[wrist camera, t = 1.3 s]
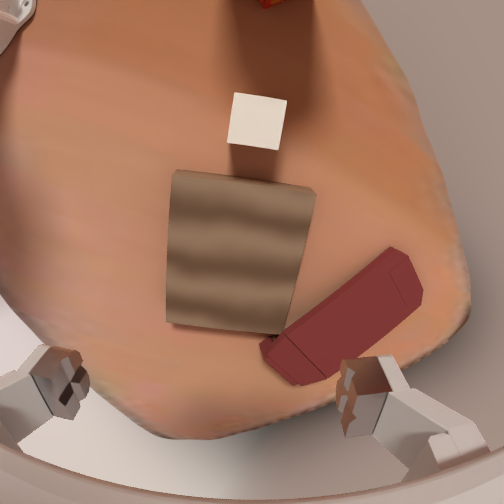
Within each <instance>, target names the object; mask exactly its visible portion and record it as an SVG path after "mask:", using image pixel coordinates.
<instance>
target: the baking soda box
mask: <svg viewBox="0 0 504 504" xmlns="http://www.w3.org/2000/svg"><path fill="white" fill-rule="evenodd" d="M283 1H285V0H258V2H259V3H260V4H261V6H262V7H263V9H266V8H268V7H271V6H273V5H276V4H278V3H280V2H283Z"/></svg>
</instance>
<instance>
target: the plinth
mask: <svg viewBox="0 0 504 504" xmlns="http://www.w3.org/2000/svg"><path fill="white" fill-rule="evenodd" d="M315 200H316V193H315V192H314V191H313V190H312V189H311V188H308V187H303V186H297V185H291V184H284V183H278V182H271V181H265V180H258V179H251V178H244V177H236V176H228V175H221V174H212V173H204V172H195V171H186V170H176V172H175V173H174V174H173V175H172V183H171V196H170V210H169V227H168V247H167V277H166V322H169V323H176V324H183V325H191V326H199V327H207V328H216V329H225V330H235V331H245V332H255V333H267V334H279V335H280V334H281V333H282V332H283V328H284V325H285V321H286V317H287V313H288V310H289V306H290V302H291V298H292V295H293V291H294V287H295V283H296V279H297V275H298V271H299V267H300V263H301V259H302V255H303V251H304V247H305V243H306V239H307V234H308V230H309V226H310V222H311V217H312V213H313V208H314V204H315Z"/></svg>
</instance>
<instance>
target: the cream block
mask: <svg viewBox="0 0 504 504" xmlns="http://www.w3.org/2000/svg"><path fill="white" fill-rule="evenodd" d="M286 105H287V101H286V100H281V99H275V98H269V97H263V96H257V95H250V94H243V93H234V99H233V105H232V112H231V118H230V125H229V132H228V138H227V143H233V144H240V145H248V146H255V147H261V148H268V149H274V150H279V145H280V139H281V133H282V128H283V122H284V116H285V110H286Z"/></svg>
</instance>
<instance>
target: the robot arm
mask: <svg viewBox="0 0 504 504" xmlns="http://www.w3.org/2000/svg"><path fill="white" fill-rule="evenodd" d="M28 3H29V4H28ZM27 4H28V5H27ZM35 8H36V0H0V54H1V53H2V52H3V51H4V50H5V48H6V47H7V46H8V44H9V43H10V41H11V40H12V38H13V37H14V35H15V33H16V32H17V30H18V29H19V28H20V27H21V26H22V25H23V24H24V23H25V22H26V21H27V20H28V19H29V18H30V17H31V16H32V15H33V14H34V12H35ZM82 361H83V360H82V357H81V355H80V353H79V352H78V351H76V350H71V349H65V348H60V347H55V346H49V345H44V344H42V345H39V346H38V347H37V348H36V349H35V350H34V352H33V353H32V354H31V355H30V356H29V357H28V359H27V360H26V361H25V362H24V363H23V365H22V366H21V367H20V368H19V369H18V370H17V371H15V370H14V371H11V372H9V373H7V374H5V375H3V376H1V377H0V504H504V446H503V447H501V448H498V449H496V450H494V451H492V452H490V450H489V448H488V446H487V444H486V443H485V441H484V439H483V437H482V435H481V434H480V432H479V430H478V428H477V427H476V425H475V423H474V422H473V421H471V420H469V419H467V418H466V417H464V416H462V415H460V414H459V413H457V412H455V411H453V410H451V409H450V408H448V407H446V406H445V405H443V404H441V403H439V402H438V401H436V400H434V399H432V398H431V397H429V396H427V395H425V394H424V393H422V392H420V391H419V390H417V389H415V388H413V389H410V387H409V385H408V384H407V382H406V380H405V378H404V376H403V374H402V372H401V370H400V368H399V367H398V365H397V363H396V361H395V359H394V357H393V356H392V355H391V354H386V355H378V356H374V357H363V358H353V359H342V362H341V365H340V373H341V378H340V379H339V380H338V381H337V386H336V403H337V408H338V410H339V411H340V412H341V413H343V414H342V418H341V424H342V428H343V432H344V435H345V437H355V436H363V435H371V434H373V435H372V436H373V437H374V438H375V439H377V440H378V441H379V442H380V443H381V444H382V445H383V446H384V447H385V448H386V449H387V450H389V451H390V452H391V453H392V454H393V455H394V456H395V457H396V458H397V459H399V460H400V461H401V462H402V463H403V464H404V465H405V466H406V467H408V468H409V469H410V470H409V471H408V473H407V474H406V476H405V477H404V478H403V480H402V481H401V483H397V484H392V485H388V486H383V487H379V488H374V489H368V490H364V491H357V492H351V493H345V494H337V495H330V496H321V497H312V498H298V499H281V500H280V499H279V500H235V499H234V500H233V499H214V498H202V497H192V496H183V495H175V494H168V493H162V492H155V491H149V490H144V489H139V488H134V487H129V486H125V485H120V484H116V483H112V482H108V481H104V480H100V479H96V478H92V477H89V476H86V475H82V474H79V473H76V472H73V471H70V470H67V469H64V468H61V467H58V466H55V465H53V464H50V463H47V462H44V461H42V460H40V459H37V458H34V457H32V456H30V455H27V454H25V453H23V451H22V450H21V448H20V447H19V446H18V445H17V443H18V442H19V441H21V440H22V439H23V438H25V437H26V436H28V435H29V434H30V433H32V432H33V431H34V430H36V429H37V428H39V427H40V426H41V425H43V424H44V423H45V422H46V421H48V420H49V419H51V418H52V417H53V416H57V417H61V418H65V419H69V420H73V419H74V417H75V416H76V414H77V412H78V410H79V408H80V403H79V401H80V400H82V399H84V398H85V397H86V396H87V393H88V392H89V386H90V380H89V375H88V373H87V371H86V370H85V369H84V368H83V367H82V366H81V364H82ZM52 415H53V416H52Z"/></svg>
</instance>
